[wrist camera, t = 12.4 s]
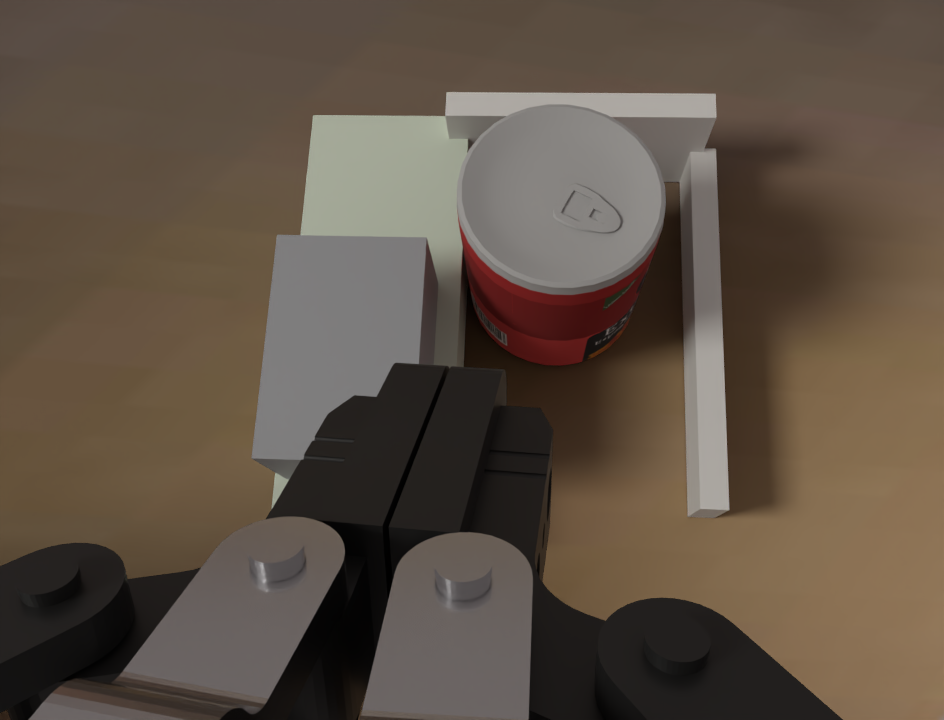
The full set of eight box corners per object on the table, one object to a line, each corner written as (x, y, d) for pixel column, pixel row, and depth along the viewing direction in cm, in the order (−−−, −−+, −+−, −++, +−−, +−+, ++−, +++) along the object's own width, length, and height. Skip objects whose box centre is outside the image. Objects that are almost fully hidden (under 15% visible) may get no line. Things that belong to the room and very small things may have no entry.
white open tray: (715, 563, 40) (769, 547, 31) (292, 545, 41) (230, 526, 32) (703, 161, 45) (745, 52, 36) (330, 156, 46) (286, 51, 38)
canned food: (616, 386, 42) (647, 309, 32) (453, 350, 43) (431, 263, 32) (647, 241, 44) (686, 122, 34) (490, 210, 45) (481, 85, 34)
